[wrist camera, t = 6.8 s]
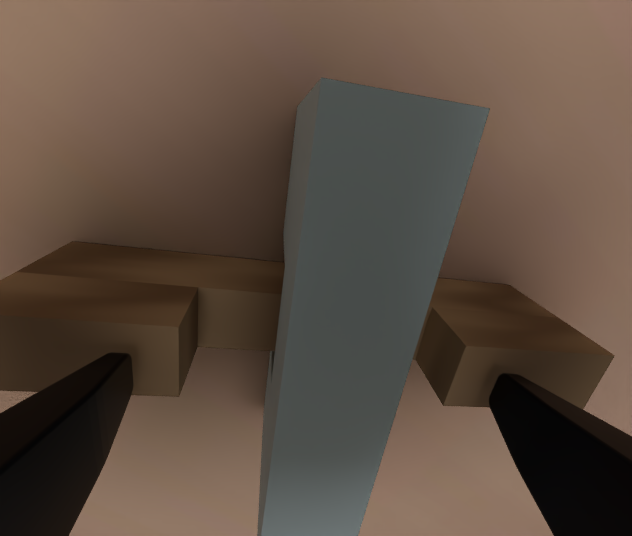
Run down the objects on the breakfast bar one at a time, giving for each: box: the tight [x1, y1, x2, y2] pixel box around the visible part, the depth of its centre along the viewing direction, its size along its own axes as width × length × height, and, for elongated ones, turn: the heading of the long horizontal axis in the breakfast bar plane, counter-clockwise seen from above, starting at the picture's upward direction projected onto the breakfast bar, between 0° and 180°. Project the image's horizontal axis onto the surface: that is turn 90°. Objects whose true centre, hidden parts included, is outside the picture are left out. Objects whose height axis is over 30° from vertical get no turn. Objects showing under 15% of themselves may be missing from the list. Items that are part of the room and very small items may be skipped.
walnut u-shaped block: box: [0, 241, 614, 409], centre depth 10 cm, size 16×2×4 cm, turn 81°
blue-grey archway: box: [257, 78, 490, 536], centre depth 10 cm, size 2×12×6 cm, turn 172°
